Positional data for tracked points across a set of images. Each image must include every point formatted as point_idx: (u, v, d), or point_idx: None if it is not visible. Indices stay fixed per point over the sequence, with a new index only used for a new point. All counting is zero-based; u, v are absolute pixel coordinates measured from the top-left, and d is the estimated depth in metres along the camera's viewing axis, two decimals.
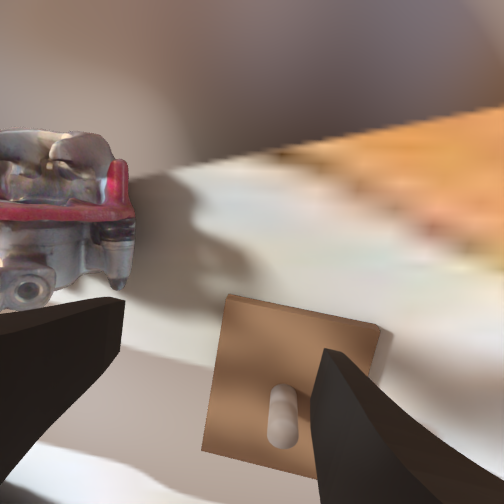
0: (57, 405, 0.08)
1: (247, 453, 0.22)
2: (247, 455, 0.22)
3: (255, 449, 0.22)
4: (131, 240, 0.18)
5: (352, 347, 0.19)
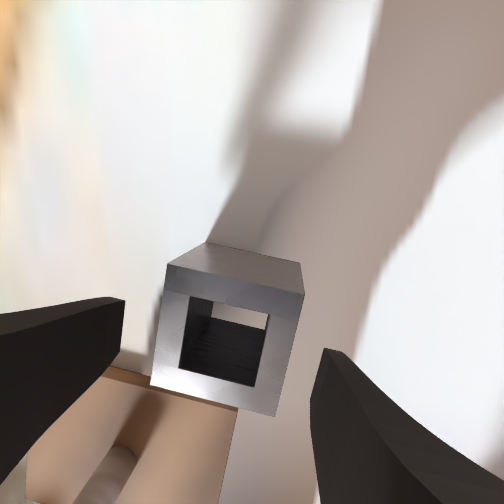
0: (57, 405, 0.08)
1: None
2: None
3: (197, 496, 0.18)
4: None
5: None
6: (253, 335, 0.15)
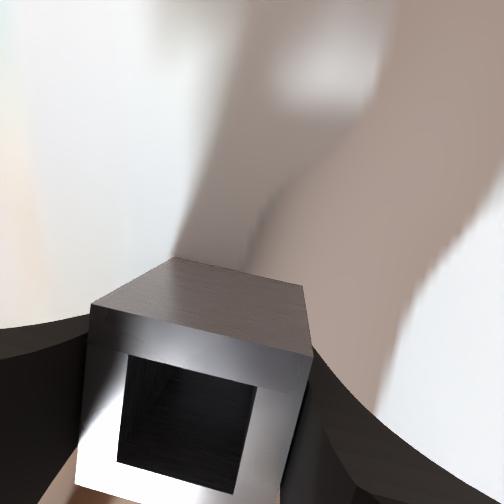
0: None
1: None
2: None
3: None
4: None
5: None
6: (239, 385, 0.11)
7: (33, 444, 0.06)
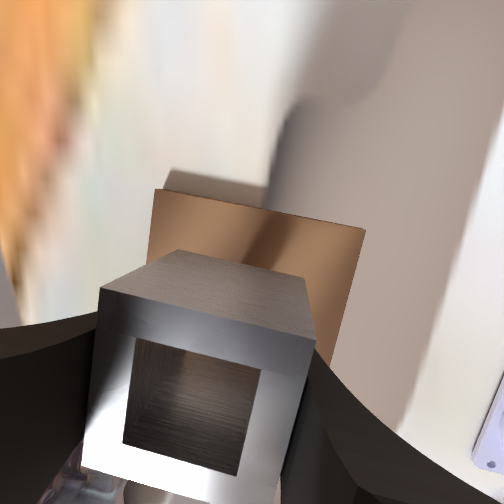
0: None
1: (323, 337, 0.18)
2: (326, 338, 0.18)
3: (317, 328, 0.18)
4: None
5: (176, 218, 0.18)
6: (241, 375, 0.11)
7: (32, 444, 0.06)
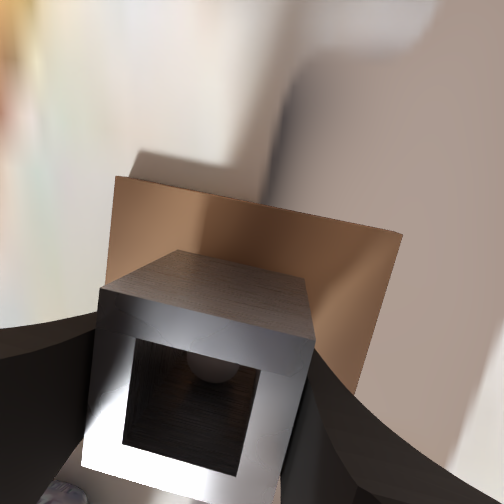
0: None
1: (341, 377, 0.13)
2: (345, 377, 0.13)
3: (333, 364, 0.13)
4: None
5: (144, 215, 0.13)
6: (241, 375, 0.11)
7: (32, 444, 0.06)
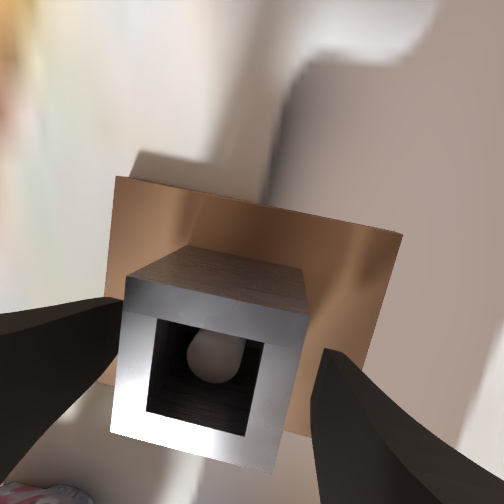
0: (57, 405, 0.08)
1: None
2: None
3: None
4: None
5: (144, 215, 0.13)
6: (246, 357, 0.13)
7: None
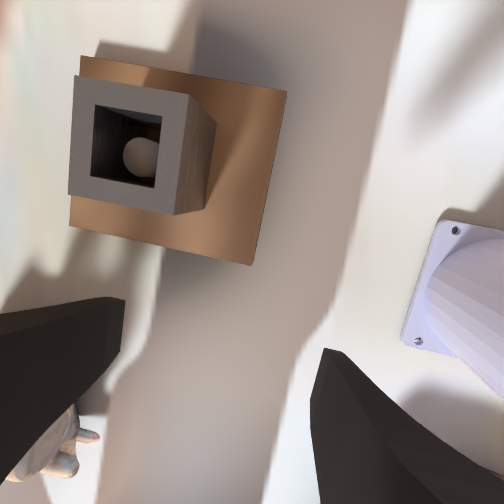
0: (57, 405, 0.08)
1: (250, 209, 0.18)
2: (253, 209, 0.18)
3: (243, 198, 0.18)
4: None
5: None
6: None
7: None
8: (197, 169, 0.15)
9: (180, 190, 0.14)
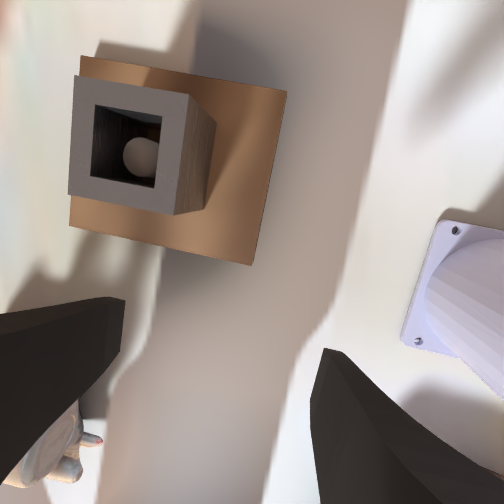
0: (57, 405, 0.08)
1: (250, 209, 0.18)
2: (253, 209, 0.18)
3: (243, 198, 0.18)
4: None
5: None
6: None
7: None
8: (197, 169, 0.15)
9: (180, 190, 0.14)
